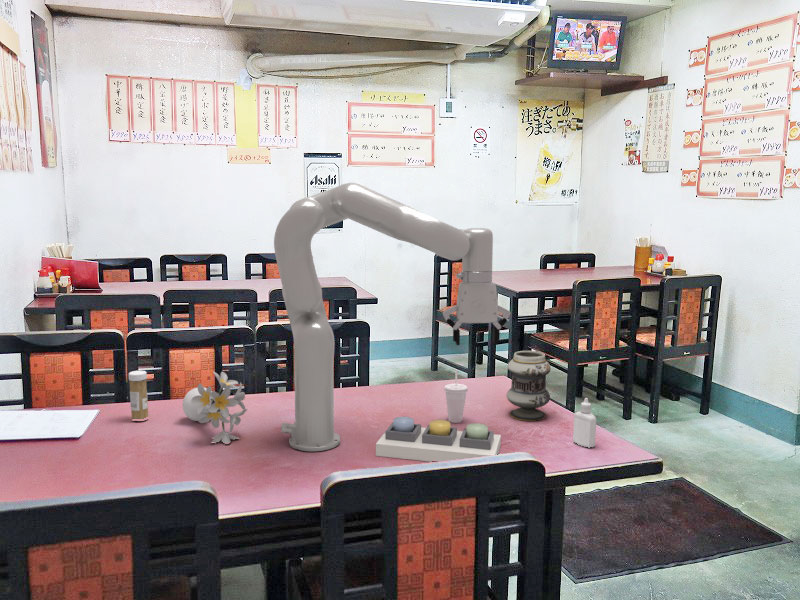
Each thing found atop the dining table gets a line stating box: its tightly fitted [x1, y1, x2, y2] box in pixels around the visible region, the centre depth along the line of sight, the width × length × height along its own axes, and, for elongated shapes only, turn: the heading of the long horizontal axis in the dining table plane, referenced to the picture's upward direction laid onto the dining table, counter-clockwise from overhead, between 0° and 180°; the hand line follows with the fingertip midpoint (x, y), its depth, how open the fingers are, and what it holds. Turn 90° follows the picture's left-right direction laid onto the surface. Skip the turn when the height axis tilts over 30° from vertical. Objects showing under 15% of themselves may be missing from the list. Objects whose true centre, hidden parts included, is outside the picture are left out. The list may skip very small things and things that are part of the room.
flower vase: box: [182, 371, 248, 444], centre depth 172 cm, size 13×18×25 cm
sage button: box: [466, 422, 489, 440], centre depth 157 cm, size 5×5×2 cm
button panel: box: [375, 422, 502, 463], centre depth 160 cm, size 28×14×5 cm, turn 76°
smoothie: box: [443, 370, 469, 424], centre depth 181 cm, size 6×6×14 cm
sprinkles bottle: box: [128, 370, 149, 419], centre depth 179 cm, size 5×5×14 cm
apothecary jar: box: [506, 350, 552, 422], centre depth 186 cm, size 12×12×18 cm
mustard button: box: [429, 419, 451, 436], centre depth 159 cm, size 5×5×2 cm
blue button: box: [392, 416, 415, 432], centre depth 161 cm, size 5×5×2 cm
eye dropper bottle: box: [572, 397, 597, 449], centre depth 164 cm, size 4×6×12 cm
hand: (476, 343), depth 169 cm, fingers open, 9 cm apart
